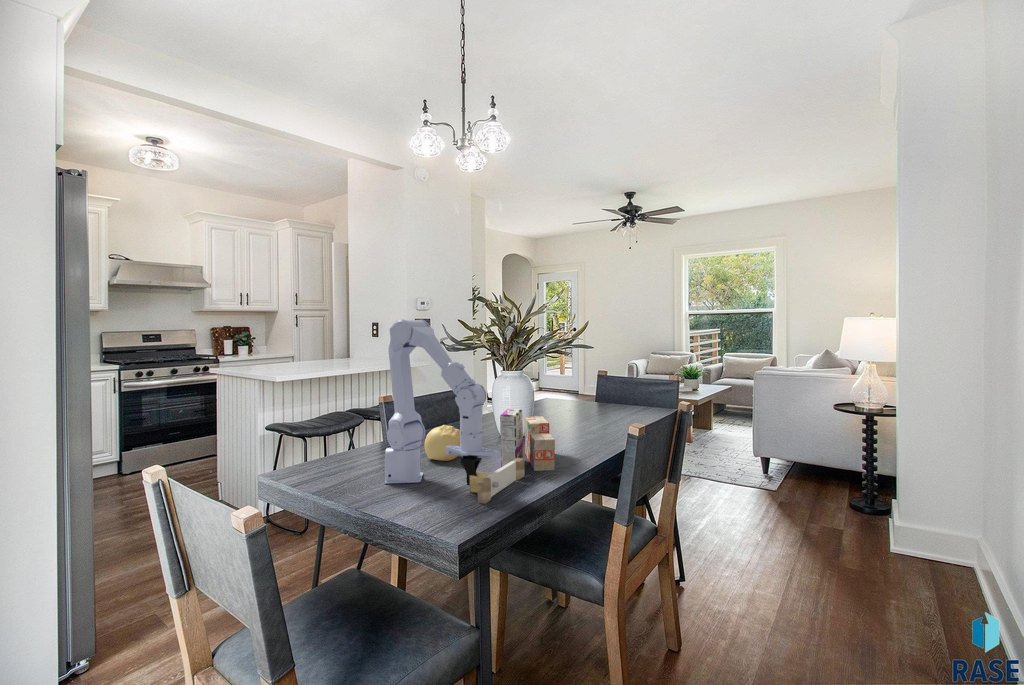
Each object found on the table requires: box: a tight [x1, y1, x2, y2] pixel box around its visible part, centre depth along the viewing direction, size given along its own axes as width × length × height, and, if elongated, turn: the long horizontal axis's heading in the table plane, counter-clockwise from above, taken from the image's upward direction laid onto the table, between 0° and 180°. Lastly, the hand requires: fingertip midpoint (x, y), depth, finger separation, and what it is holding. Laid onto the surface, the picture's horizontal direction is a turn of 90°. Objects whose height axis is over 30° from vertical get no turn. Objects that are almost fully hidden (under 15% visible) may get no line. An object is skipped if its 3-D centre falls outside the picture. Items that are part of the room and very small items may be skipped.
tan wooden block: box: [469, 470, 492, 495], centre depth 124 cm, size 5×4×4 cm
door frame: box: [477, 457, 526, 505], centre depth 126 cm, size 2×23×5 cm, turn 155°
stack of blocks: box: [523, 415, 556, 472], centre depth 152 cm, size 21×6×12 cm, turn 6°
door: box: [486, 461, 517, 498], centre depth 125 cm, size 2×15×5 cm, turn 155°
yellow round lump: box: [424, 424, 460, 462], centre depth 155 cm, size 11×12×11 cm
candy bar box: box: [499, 408, 524, 468], centre depth 147 cm, size 11×5×16 cm, turn 168°
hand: (471, 484), depth 125 cm, fingers closed, pressing on tan wooden block
